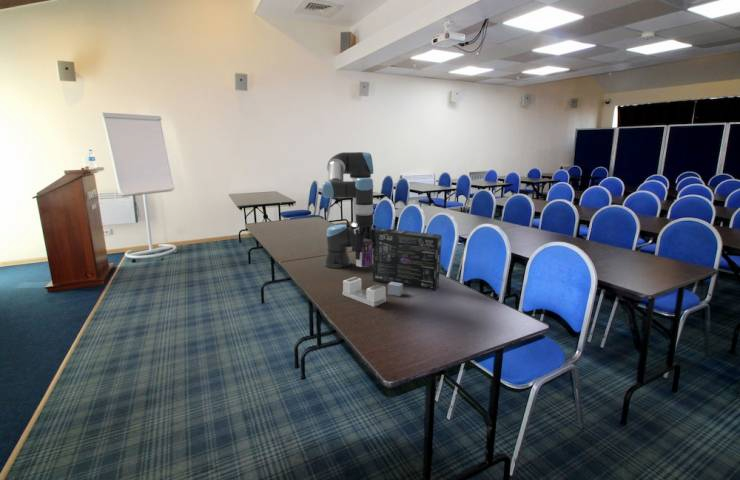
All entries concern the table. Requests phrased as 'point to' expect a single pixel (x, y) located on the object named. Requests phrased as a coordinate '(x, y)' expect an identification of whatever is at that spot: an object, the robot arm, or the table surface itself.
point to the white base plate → (363, 297)
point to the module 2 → (375, 293)
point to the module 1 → (352, 284)
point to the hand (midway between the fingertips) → (364, 264)
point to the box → (407, 258)
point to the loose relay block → (395, 288)
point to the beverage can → (366, 252)
